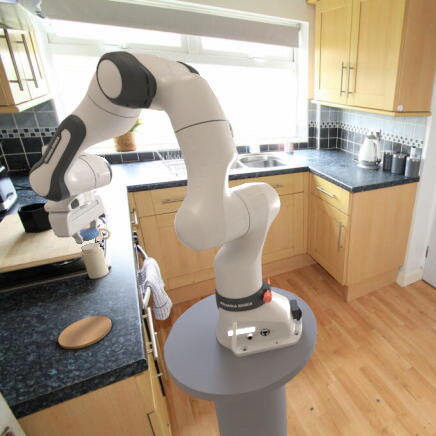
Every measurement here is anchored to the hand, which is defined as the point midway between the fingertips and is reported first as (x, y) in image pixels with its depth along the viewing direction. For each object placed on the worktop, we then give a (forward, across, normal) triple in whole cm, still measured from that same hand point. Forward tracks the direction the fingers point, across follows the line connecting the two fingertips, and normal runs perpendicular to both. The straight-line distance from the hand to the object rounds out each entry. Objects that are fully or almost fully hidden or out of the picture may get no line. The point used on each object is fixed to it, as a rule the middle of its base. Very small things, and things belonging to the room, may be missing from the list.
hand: (87, 237), depth 100 cm
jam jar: (+14, 0, 0) cm, 14 cm away
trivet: (+14, +28, +11) cm, 33 cm away
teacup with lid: (+14, -20, -11) cm, 27 cm away
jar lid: (-2, 0, 0) cm, 2 cm away
